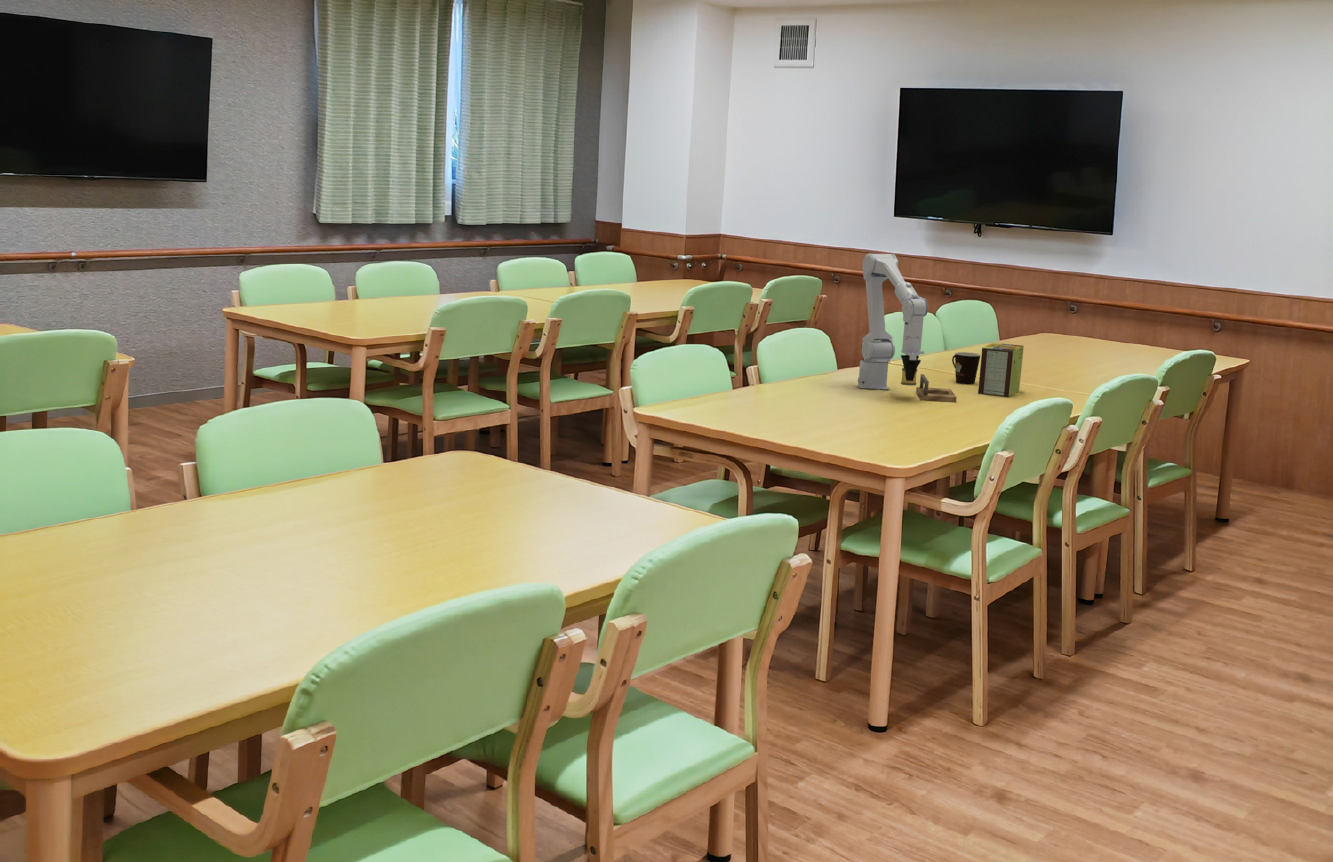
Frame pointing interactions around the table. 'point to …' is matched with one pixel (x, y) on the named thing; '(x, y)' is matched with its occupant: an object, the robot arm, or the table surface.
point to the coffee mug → (966, 367)
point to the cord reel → (908, 381)
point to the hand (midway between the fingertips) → (908, 379)
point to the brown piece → (934, 392)
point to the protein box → (1000, 369)
